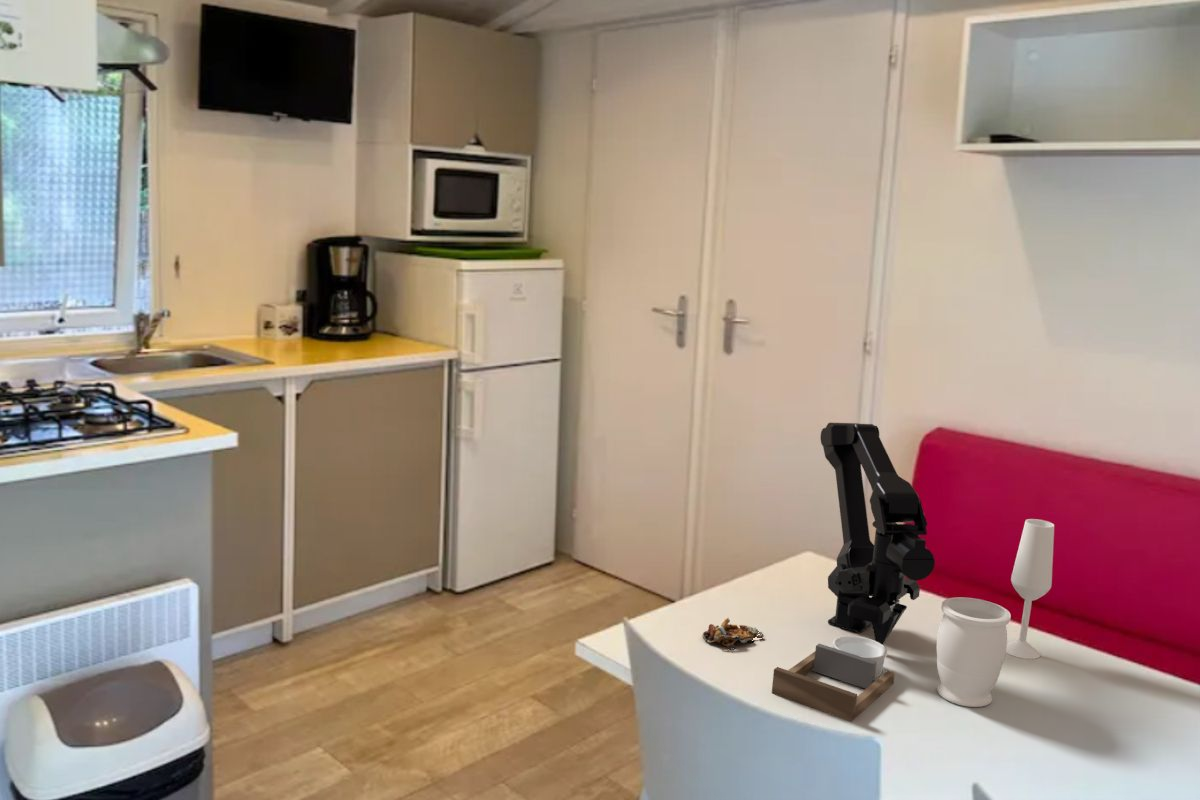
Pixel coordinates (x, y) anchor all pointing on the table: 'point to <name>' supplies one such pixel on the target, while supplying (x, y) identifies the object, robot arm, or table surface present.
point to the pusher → (844, 666)
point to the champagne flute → (1032, 577)
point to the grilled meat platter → (730, 634)
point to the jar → (970, 649)
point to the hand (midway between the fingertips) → (879, 644)
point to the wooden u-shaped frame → (826, 690)
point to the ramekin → (863, 649)
